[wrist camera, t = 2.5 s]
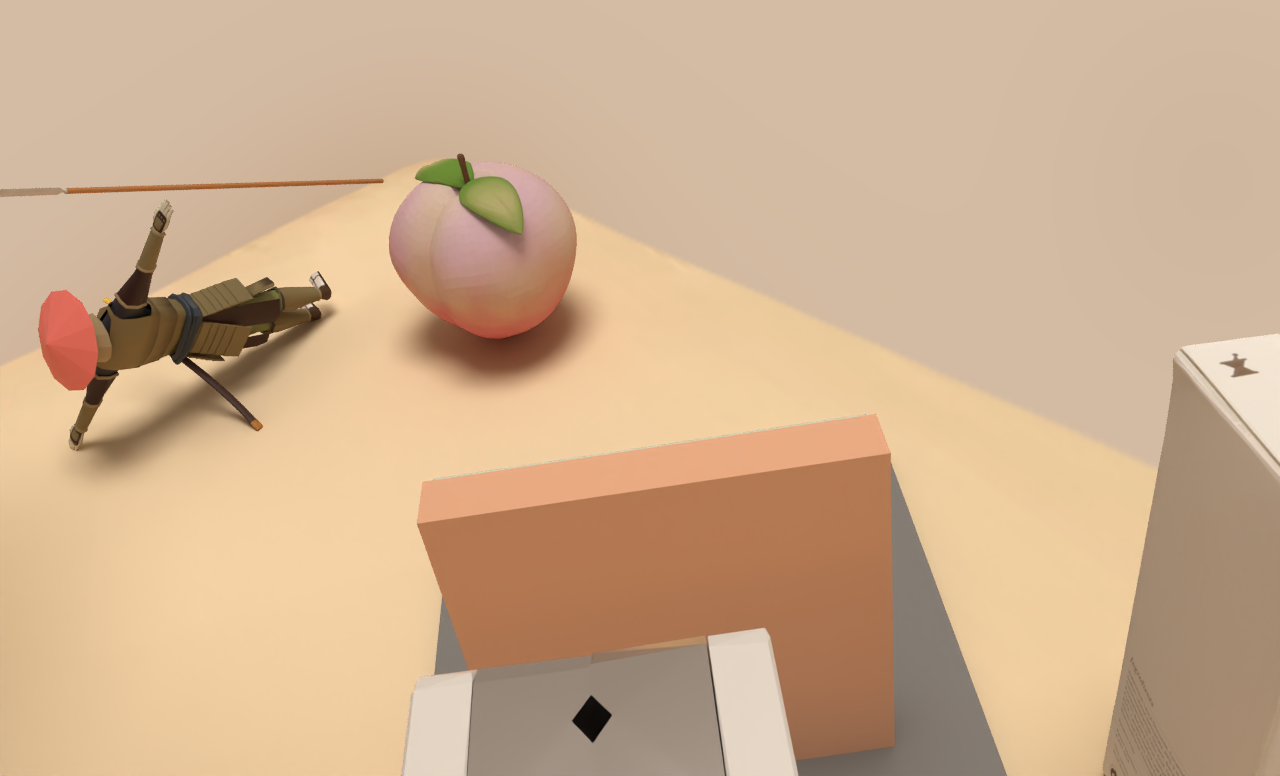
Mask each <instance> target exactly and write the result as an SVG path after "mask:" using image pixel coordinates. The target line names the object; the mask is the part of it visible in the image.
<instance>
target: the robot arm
mask: <svg viewBox="0 0 1280 776" xmlns="http://www.w3.org/2000/svg"><path fill="white" fill-rule="evenodd" d="M708 649H709V652H708ZM709 656H710V658H709ZM710 662H711V664H710ZM711 669H712V670H711ZM712 675H713V676H712ZM401 776H798V771H797V766H796V761H795V756H794V751H793V746H792V741H791V737H790V732H789V727H788V722H787V717H786V712H785V707H784V702H783V697H782V692H781V687H780V682H779V677H778V673H777V668H776V663H775V658H774V653H773V648H772V643H771V638H770V636H769V634H768V632H767V630H766V628H759V629H753V630H746V631H739V632H732V633H725V634H719V635H712V636H708V646H707V641H706V635H705V636H699V637H693V638H687V639H680V640H674V641H668V642H661V643H655V644H649V645H642V646H636V647H630V648H623V649H617V650H611V651H604V652H598V653H592V655H591V656H583V657H575V658H566V659H558V660H550V661H541V662H533V663H524V664H516V665H508V666H499V667H491V668H483V669H477V670H470V671H463V672H455V673H447V674H440V675H432V676H424V677H419V678H418V680H417V683H416V685H415V687H414V690H413V692H412V694H411V700H410V709H409V717H408V725H407V733H406V741H405V749H404V758H403V766H402V774H401Z"/></svg>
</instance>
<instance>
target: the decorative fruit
mask: <svg viewBox="0 0 1280 776" xmlns="http://www.w3.org/2000/svg"><path fill="white" fill-rule="evenodd" d="M457 158H458V159H443V160H439V161H437V162H435V163H433V164H431V165H427V166H424V167H422V168H421V169H420V170H419V171H418V172H417V174H416V177H415V179H416V180H420V181H423V182H422V183H420V184H419V185H418V186H417V187H415V188H414V189H413V190H412V192H411V193H410V194H409V195H408V196H407V197H406V199H405V200H404V201H403V203H402V204H401V205H400V207H399V209H398V210H397V212H396V214H395V216H394V219H393V222H392V225H391V230H390V236H389V251H390V257H391V261H392V263H393V266H394V268H395V270H396V272H397V273H398V275H399V277H400V278H401V280H402V281H403V283H404V284H405V285H406V286H407V288H408V289H409V290H410V291H411V292H412V293H413V294H414V295H415V296H416V298H417V299H418V300H419V301H420V302H421V303H422V304H423V305H424V306H425V307H426V308H427V309H429V310H430V311H431V312H433V313H434V314H435V315H437V316H438V317H440V318H441V319H443V320H445V321H447V322H449V323H451V324H453V325H456V326H458V327H462V328H463V329H465V330H467V331H469V332H470V333H472V334H475V335H478V336H480V337H484V338H492V339H501V338H507V337H510V336H513V335H517V334H520V333H523V332H525V331H528V330H530V329H531V328H533V327H535V326H537V325H538V324H540V323H541V322H542V321H544V320H545V319H546V318H547V317H548V316H549V315H550V314H551V313H552V312H553V311H554V310H555V308H556V307H557V305H558V304H559V302H560V300H561V299H562V297H563V295H564V293H565V291H566V289H567V287H568V284H569V281H570V278H571V275H572V271H573V267H574V262H575V256H576V246H577V237H576V228H575V223H574V220H573V217H572V214H571V212H570V210H569V208H568V206H567V204H566V203H565V201H564V200H563V198H562V197H561V196H560V195H559V193H558V192H557V191H556V190H555V189H554V188H553V187H552V186H551V185H550V184H549V183H547V182H546V181H545V180H543V179H542V178H540V177H539V176H537V175H535V174H533V173H531V172H530V171H527V170H525V169H522V168H520V167H517V166H514V165H511V164H506V163H501V162H478V163H472V164H471V163H469V162H466V161H465V158H464V155H463V154H458V155H457Z"/></svg>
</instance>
